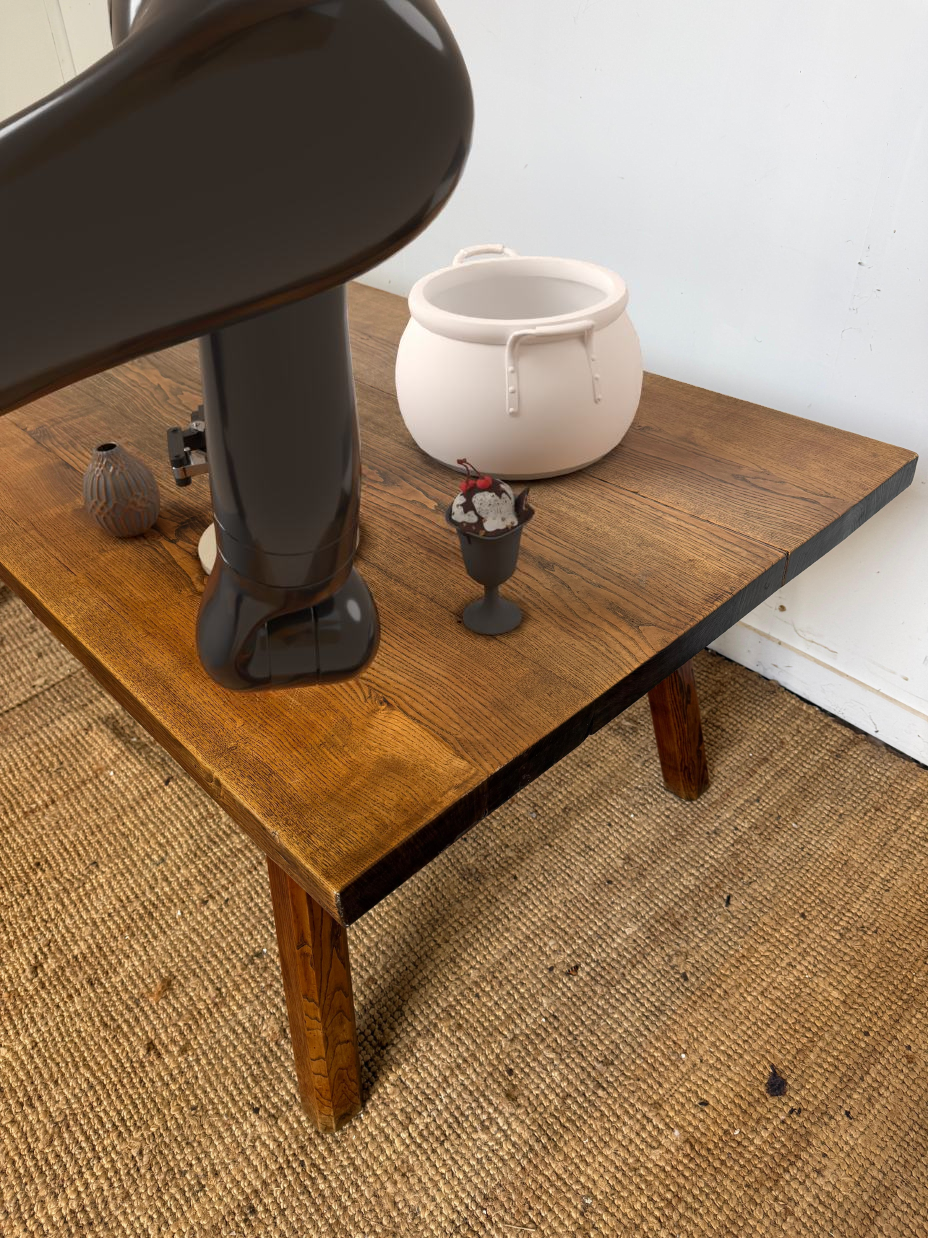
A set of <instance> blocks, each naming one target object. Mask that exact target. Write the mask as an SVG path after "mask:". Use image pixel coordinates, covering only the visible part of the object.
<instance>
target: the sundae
mask: <svg viewBox="0 0 928 1238" xmlns="http://www.w3.org/2000/svg"><path fill="white" fill-rule="evenodd" d="M457 463H458V464H461V465H463V466H464V467H466V469H467V474H466V478H465V480H464V481H462V482H461V484H460V491H461V492H460V493H459V494H458V495H457V496H456V498H455V499H453V500H452V501H451V503H450V504H449V505H448V506H447V509H446V511H445V514H444V515H445V516H444V517H445V518H444V519H445V522H446V523H447V524H448V525H449V526H451V527H452V528H454V529H455V531H456V534H457V537H458V540H459V545H460V551H461V556H462V562H463V565H464V569H465V571H466V574H467V576H468V577H469V578H470V579H472V580H473V581H474V582H475V583H476V584H478V585H481V586H483V598H481V599H478V600H475V601H473V602H472V603H471V604H469V605H468V606H466V607H465V609H464V611H463V613H462V622H463V624H464V625H465V626H466V627H467V628H468V629H469V630H471V631H473V632H474V633H477V634H480V635H486V636H496V635H503V634H507V633H509V632H511V631H512V630H514V629H515V628H517V627H518V626H519V625H520V623H521V621H522V619H523V615H522V614H523V613H522V610H521V609H520V607H519V606H517V604H516V603H514V602H512V601H510V600H508V599H505V598H502V597H500V586H501V585H503V584H505V582H507V581H508V580H510V578H511V577H512V576H513V575H514V574H515V572H516V568H517V566H518V565H517V564H518V560H519V554H520V547H521V538H522V534H523V530H524V526H526V525H527V524H528V523H530V522H531V520H533V518H534V515H535V513H536V511H535V509H534V508H533V507H532V506H531V505H530V503H529V502H528V501H529V495H530V489H531V488H530V486H529V485H527V486H526V487H525V488H524V489H522V491H520V493H519V494H516V493H514V492H513V490H512V488H511V486H510V485H509V484H508V483H505V482H504V481H502V480H501V479H494V478H490V477H488V476H481V474H480V473H479V472H478V471H477V470H476V469H475V468H474V467H473V466H472V465H471V464H470V463H468V462H466V458H464V459H457ZM463 463H466V464H468V465H469V466H471V467H472V469H473V470H474V471H475V472H476V473H477V474H478V475H479V477H478V478H477V480H476V481H474V480H471V479H470V476H471V475H470V473H469V469H468V467H467V466H466V465H464V464H463Z"/></svg>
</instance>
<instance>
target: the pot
mask: <svg viewBox="0 0 928 1238" xmlns="http://www.w3.org/2000/svg"><path fill="white" fill-rule="evenodd" d="M487 254H489V255H490V254H496V255H502V254H505V255H507V256H499V257H490V258H482V259H474V260H469V261H465V262H463V261H464V260H465V259H468V258H471V257H474V256H478V255H487ZM629 296H630V292H629V289H628V286H627V284H626V281H625V280H624V278H622V276H621V275H619V273H616V272H615V271H613V270H611V269H609V268H608V267H604V266H601V265H599V264H597V263H592V262H588V261H585V260H580V259H579V260H578V259H573V258H566V257H557V256H556V257H555V256H543V255H542V256H541V255H539V256H537V255H521V254H520V253H518V252H517V251H516V250H515V249H514V248H511V247H507V246H505V245H504V244H503V243H487V244H478V245H470V246H467V247H464V248H461V249H459V250H458V253H457V254H455V256H454V258H453V262H452V264H451V265H449V266H446V267H443V268H440V269H436V270H435V271H432V272H430V273H427V274H426V275H425V276H423V277H421V278H420V279H419V280H417V281H416V282H415V284H413V286H412V287H411V289H410V292H409V295H408V298H407V302H408V303H407V304H408V309H409V313H410V315H411V316H410V318H409V320H408V323H407V325H406V327H405V329H404V331H403V332H402V335H401V337H400V340H399V345H398V349H397V354H396V355H397V356H396V361H395V374H394V375H395V378H394V380H395V381H394V382H395V389H396V397H397V402H398V408H399V411H400V414H401V416H402V419H403V421H404V424H405V427H406V429H407V430H408V432H409V434H410V435H411V436H412V439H413V440H414V442H416V444H417V445H418V447H419V448H420V449H421V450H422V451H424V452H425V453H426V454H427V455H429V456H430V457H431V458H432V459H433V460H435V461H436V462H437V463H439V464H440V465H442V466H445V467H446V468H449V469H451V470H452V471H455V472H459V473H462V474H466V475H467V469H466V467H464V466H463V465H461V464H458V463H457V459H464V458H466V462H468V463H470V464H471V465H472V466H473V467H474V468H475V469H476V470H477V471H478V472H479V473H480V474H481V476H488V477H490V478H494V479H498V480H500V481H502V480H504V481H530V480H539V479H547V478H553V477H557V476H562V475H566V474H567V475H568V474H571V473H573V472H577V471H579V470H582V469H585V468H586V467H589V466H591V465H593V464H595V463H596V462H598V461H600V460H601V459H602V458H603V457H605V456H606V455H607V454H608V453H610V452H611V451H612V450H613V449H614V448H615V447H617V446H618V445H619V444H620V442H621V441H622V439H623V438H624V436H625V435H626V433H627V432H628V430H629V428H630V427H631V425H632V423H633V421H634V418H635V416H636V414H637V410H638V407H639V404H640V400H641V396H642V395H641V394H642V388H643V379H644V363H643V362H644V361H643V359H644V358H643V353H642V348H641V343H640V338H639V335H638V332H637V329H636V328H635V325H634V324H633V322H632V320H631V318H630V316H629V314H628V312H627V310H626V309H627V307H628V303H629ZM463 464H464V465H466V466H467V467H468V469H469V473H470V475H469V476H473V477H478V478H480V477H479V475H478V474H477V473H476V472H475V471H474V470H473V469H472V467H471V466H469V465H468V464H466V463H463Z"/></svg>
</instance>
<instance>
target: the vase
mask: <svg viewBox="0 0 928 1238" xmlns="http://www.w3.org/2000/svg"><path fill="white" fill-rule="evenodd" d="M81 485H82V486H81V488H82V489H81V490H82V492H81V493H82V499H83V502H84V506H85V508H86V510H87V512H88V514H89V516H90V518H91V519H92V520H93V522H94V523H95V525H96V526H98V527H99V528H100V529H101V530H103V531H104V532H106V533H108V534H110V535H113V536H115V537H119V538H131V537H135V536H138V535H141V534H143V533H145V532H147V531H149V530H150V529H151V528H152V527H153V525H154V524H155V523H156V521H157V519H158V517H159V515H160V511H161V492H160V488H159V485H158V482H157V480H156V478H155V476H154V474H153V473H152V471H151V469H149V467H148V466H147V465H146V463H144V462H143V461H142V460H140V459H139V458H137V457H136V456H134V455H133V454H132V453H130V452H129V451H127V450H126V449H125V448H124V447H123V446H122V445H121V444H120V443H119V442H118V441H115V440H108V441H103V442H100V443H98V444H96V445H95V446H93V448H92V456H91V459H90V462H89V463H88V465H87V468H86V470H85V472H84V475H83V477H82V484H81Z"/></svg>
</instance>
